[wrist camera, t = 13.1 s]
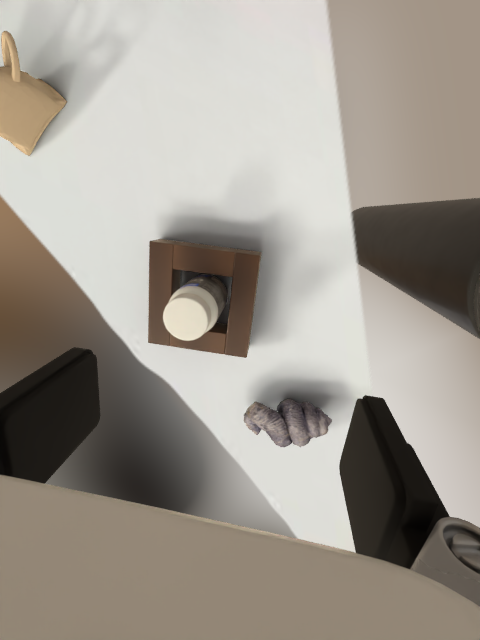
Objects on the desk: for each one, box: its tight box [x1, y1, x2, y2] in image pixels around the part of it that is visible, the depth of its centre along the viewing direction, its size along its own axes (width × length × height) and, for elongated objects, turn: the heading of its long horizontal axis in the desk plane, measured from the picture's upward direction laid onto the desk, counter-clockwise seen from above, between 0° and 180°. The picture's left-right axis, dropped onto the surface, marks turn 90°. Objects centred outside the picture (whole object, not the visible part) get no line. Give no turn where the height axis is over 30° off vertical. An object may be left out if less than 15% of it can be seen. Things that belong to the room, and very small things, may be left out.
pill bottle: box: [163, 274, 227, 341], centre depth 30 cm, size 5×5×8 cm
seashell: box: [244, 399, 332, 447], centre depth 35 cm, size 5×5×10 cm
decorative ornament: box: [0, 31, 67, 156], centre depth 27 cm, size 4×8×5 cm, turn 131°
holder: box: [148, 239, 262, 358], centre depth 33 cm, size 11×11×3 cm
